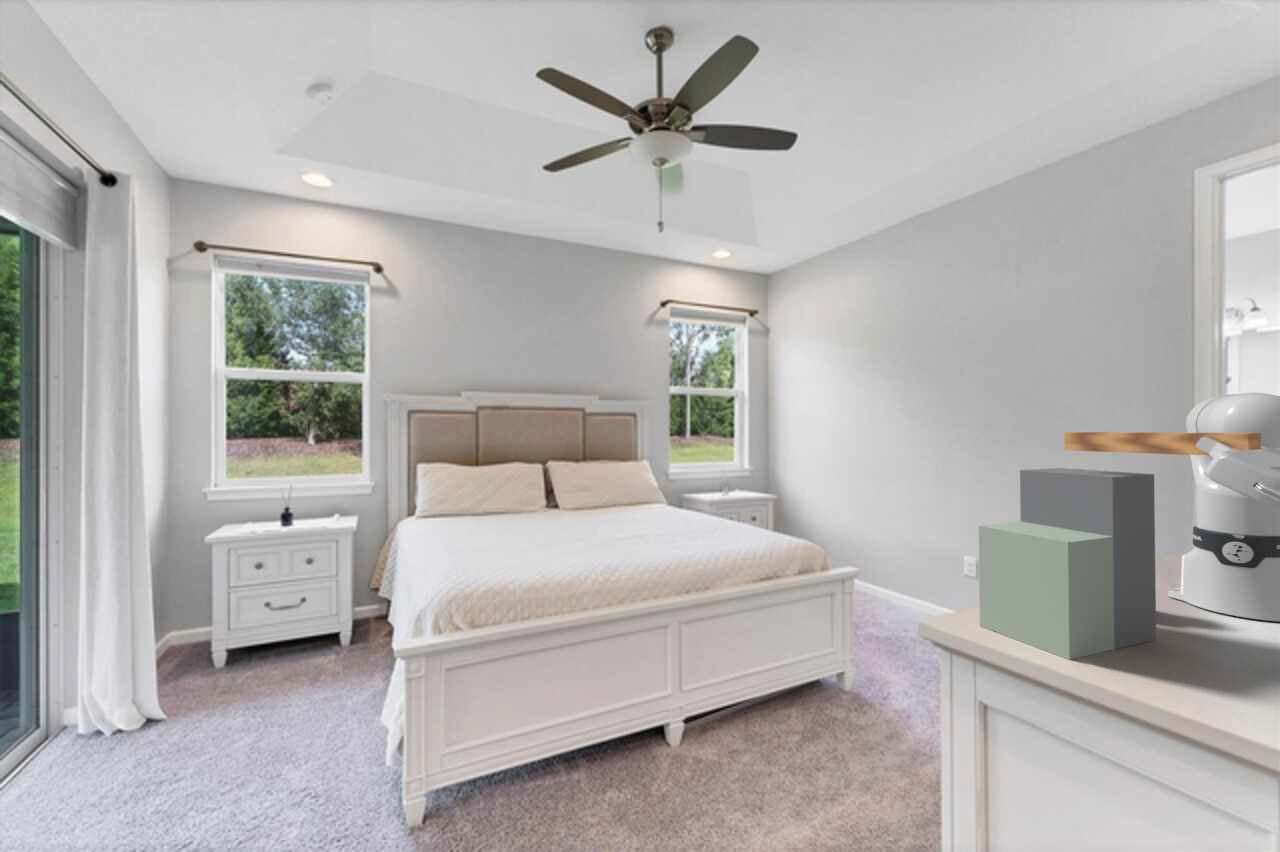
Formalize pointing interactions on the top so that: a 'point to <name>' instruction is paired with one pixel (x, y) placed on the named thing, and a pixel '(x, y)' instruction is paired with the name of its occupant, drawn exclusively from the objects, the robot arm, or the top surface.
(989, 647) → the top surface
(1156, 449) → the orange bar
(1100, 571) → the stepped stand
